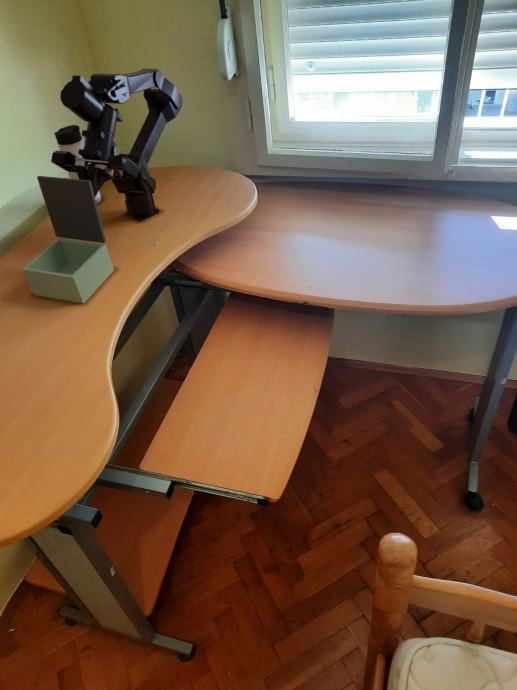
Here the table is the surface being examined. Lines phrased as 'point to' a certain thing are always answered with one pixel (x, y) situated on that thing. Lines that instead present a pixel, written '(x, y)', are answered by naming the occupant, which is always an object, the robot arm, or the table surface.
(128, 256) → the table surface
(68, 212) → the dark flat rectangular panel
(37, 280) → the sage green storage tray
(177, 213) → the table surface
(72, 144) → the travel mug
